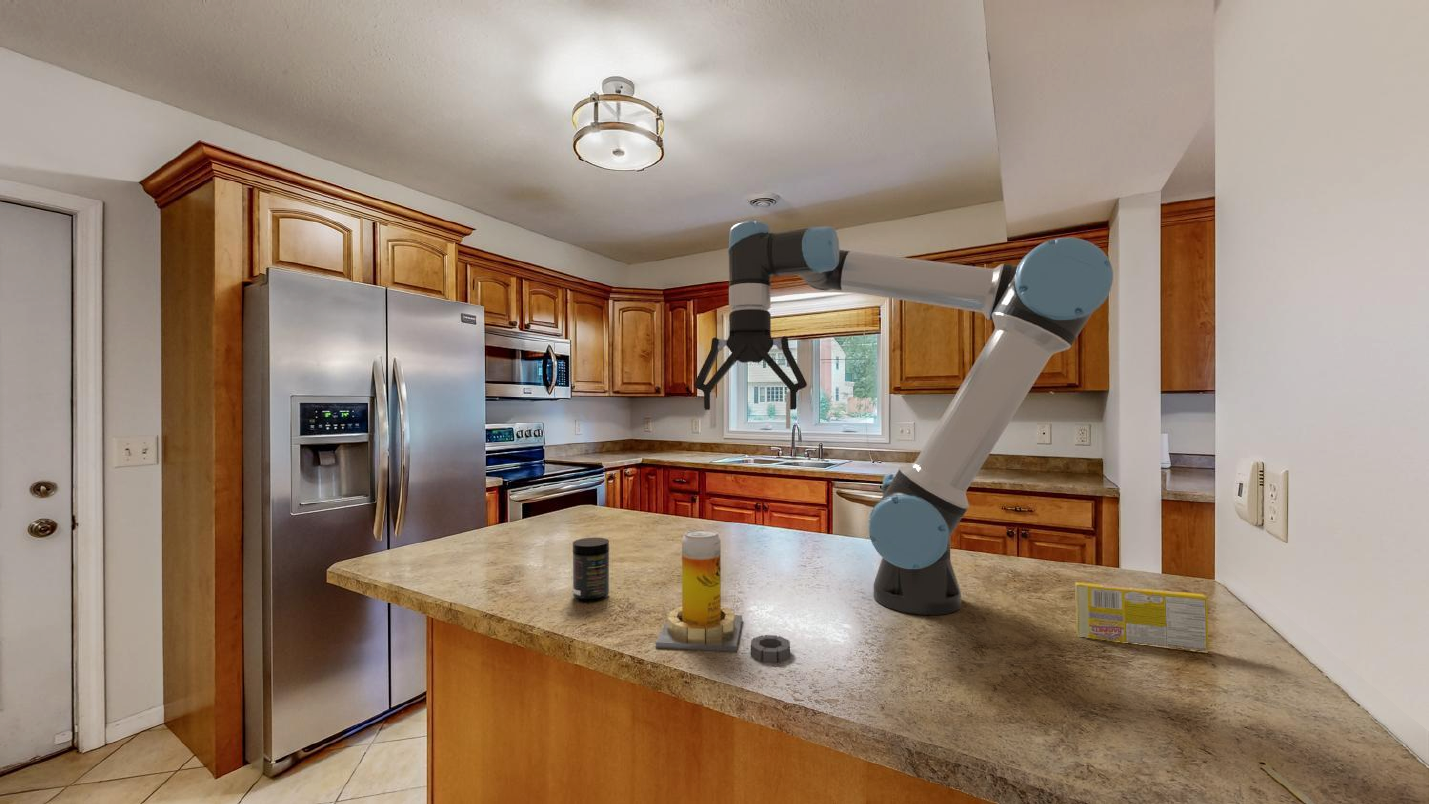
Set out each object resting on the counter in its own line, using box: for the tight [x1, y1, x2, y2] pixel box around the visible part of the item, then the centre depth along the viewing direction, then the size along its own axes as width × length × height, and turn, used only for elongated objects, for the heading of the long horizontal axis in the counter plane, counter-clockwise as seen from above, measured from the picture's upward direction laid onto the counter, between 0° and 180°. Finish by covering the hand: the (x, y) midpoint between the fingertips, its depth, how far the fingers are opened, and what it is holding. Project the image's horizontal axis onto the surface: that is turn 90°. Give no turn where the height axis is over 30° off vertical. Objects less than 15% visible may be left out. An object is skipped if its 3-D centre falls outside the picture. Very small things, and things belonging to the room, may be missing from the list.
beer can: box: [681, 528, 722, 625], centre depth 89 cm, size 6×6×15 cm
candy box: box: [1074, 582, 1210, 652], centre depth 85 cm, size 16×2×8 cm, turn 68°
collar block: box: [655, 605, 743, 653], centre depth 89 cm, size 12×12×3 cm
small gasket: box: [750, 634, 791, 664], centre depth 82 cm, size 6×6×2 cm
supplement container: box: [572, 537, 610, 604], centre depth 106 cm, size 7×7×10 cm
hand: (750, 428), depth 102 cm, fingers open, 13 cm apart
